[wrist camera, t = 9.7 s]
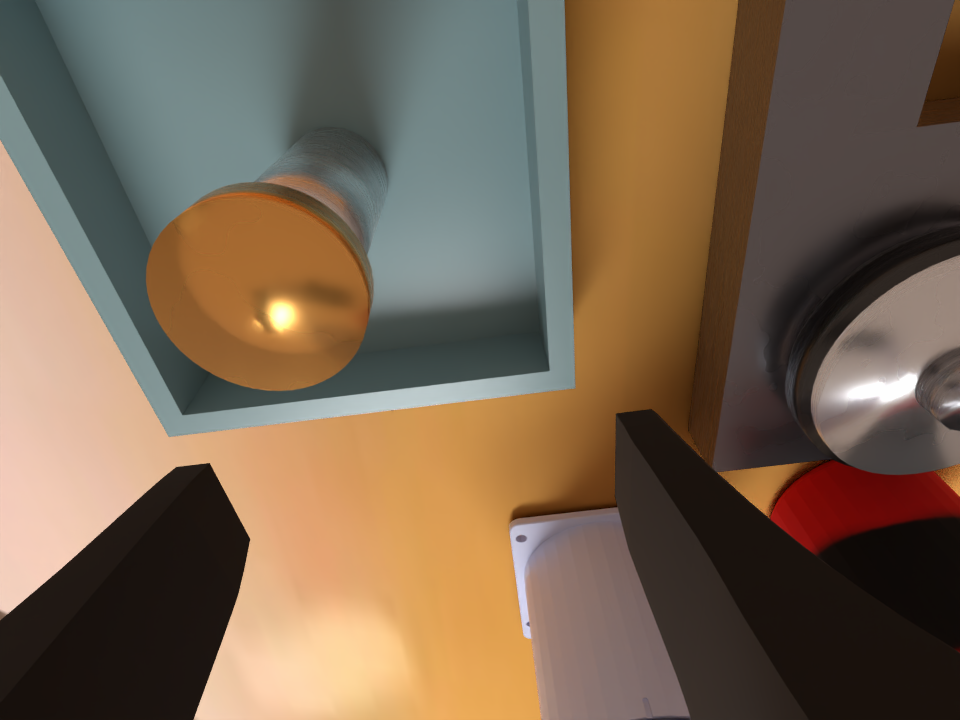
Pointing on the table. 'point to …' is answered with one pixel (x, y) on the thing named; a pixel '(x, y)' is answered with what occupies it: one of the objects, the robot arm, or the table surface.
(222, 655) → the table surface
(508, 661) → the table surface
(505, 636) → the table surface
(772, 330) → the bracket
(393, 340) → the tray
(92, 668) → the robot arm
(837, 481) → the soda can
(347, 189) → the lock pin
